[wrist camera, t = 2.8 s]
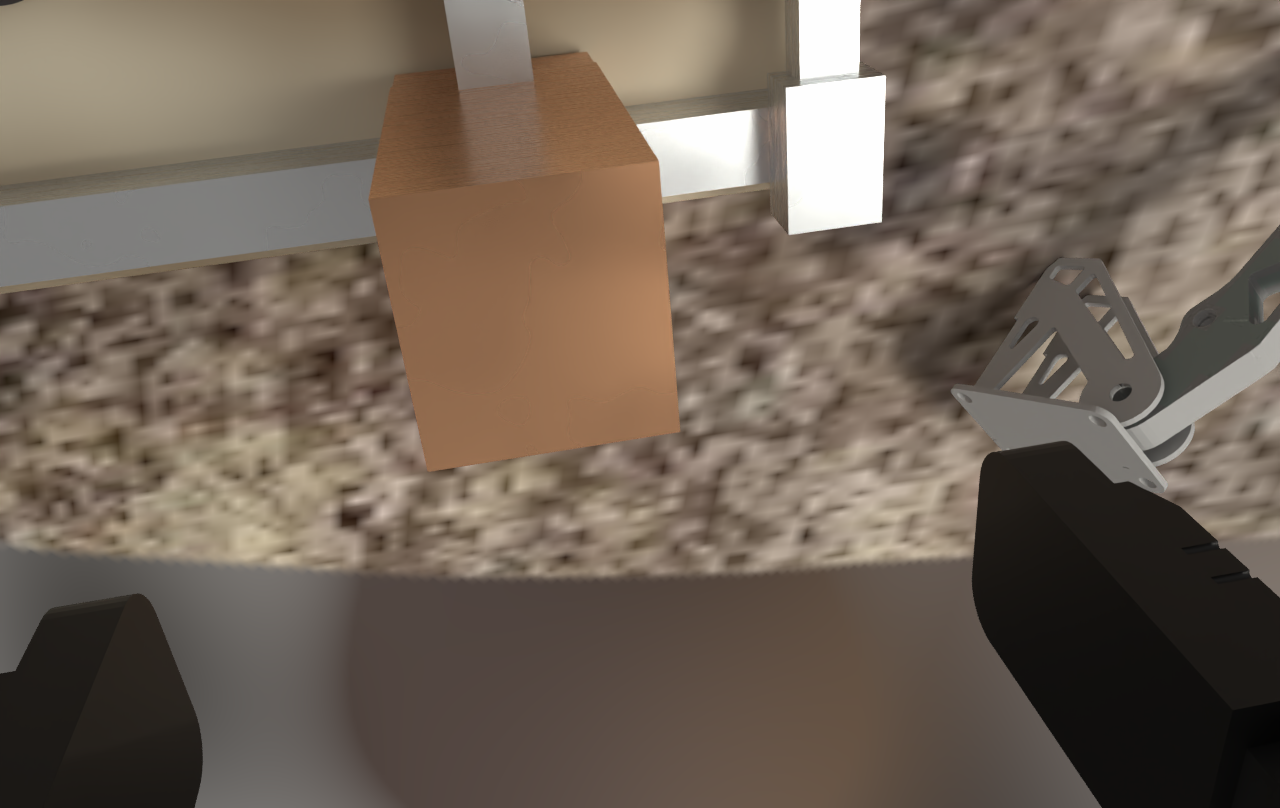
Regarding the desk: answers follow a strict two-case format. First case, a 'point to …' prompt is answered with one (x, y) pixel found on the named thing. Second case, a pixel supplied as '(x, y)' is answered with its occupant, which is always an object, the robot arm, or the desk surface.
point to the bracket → (1127, 369)
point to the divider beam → (342, 172)
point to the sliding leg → (522, 250)
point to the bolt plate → (312, 76)
